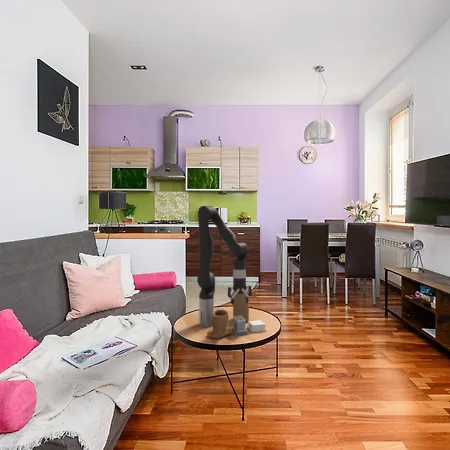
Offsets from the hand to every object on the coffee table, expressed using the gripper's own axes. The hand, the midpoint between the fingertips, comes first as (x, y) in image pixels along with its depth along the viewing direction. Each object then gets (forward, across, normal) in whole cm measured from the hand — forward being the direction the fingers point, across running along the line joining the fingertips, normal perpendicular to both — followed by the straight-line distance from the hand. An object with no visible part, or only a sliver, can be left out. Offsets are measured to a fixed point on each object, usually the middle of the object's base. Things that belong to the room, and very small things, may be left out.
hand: (239, 303), depth 207 cm
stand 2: (+17, +12, +3) cm, 21 cm away
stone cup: (+18, -12, -2) cm, 21 cm away
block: (+18, +8, +22) cm, 29 cm away
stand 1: (+17, 0, 0) cm, 17 cm away
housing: (+15, 0, 0) cm, 15 cm away
